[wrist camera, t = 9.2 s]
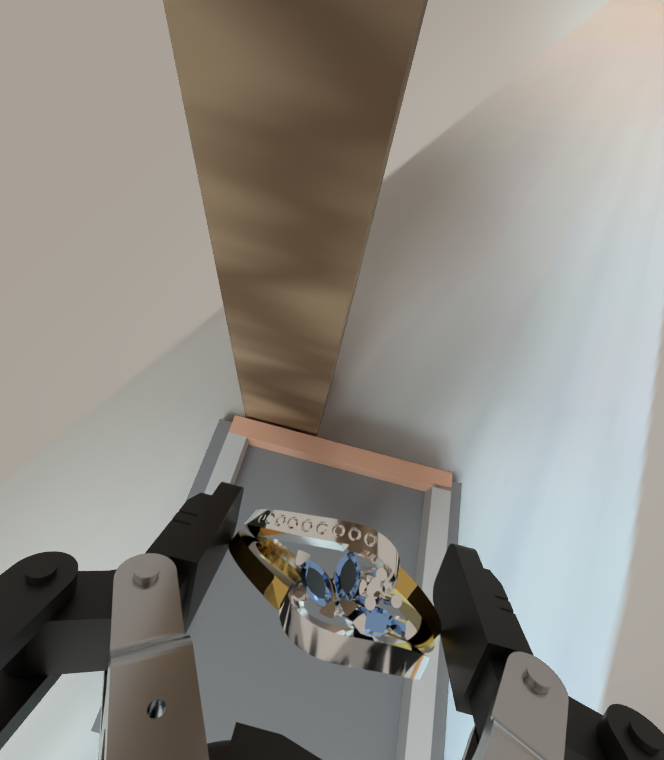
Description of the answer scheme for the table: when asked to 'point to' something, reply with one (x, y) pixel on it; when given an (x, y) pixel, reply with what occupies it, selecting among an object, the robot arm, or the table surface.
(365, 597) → the ring
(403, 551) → the seat
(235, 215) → the shelf
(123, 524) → the table surface
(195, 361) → the table surface
